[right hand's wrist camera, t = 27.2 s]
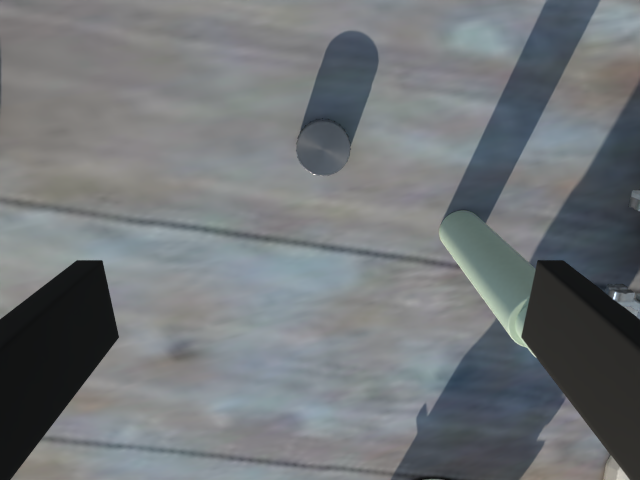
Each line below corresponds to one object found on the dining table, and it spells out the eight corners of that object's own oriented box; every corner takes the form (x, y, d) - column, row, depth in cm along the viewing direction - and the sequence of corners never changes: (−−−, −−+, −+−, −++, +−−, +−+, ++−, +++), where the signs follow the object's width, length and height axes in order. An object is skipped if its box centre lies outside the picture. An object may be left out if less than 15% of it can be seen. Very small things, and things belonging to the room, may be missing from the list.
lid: (295, 118, 40) (294, 121, 38) (349, 117, 40) (351, 119, 38) (298, 172, 42) (296, 177, 40) (349, 170, 42) (351, 175, 40)
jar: (484, 242, 45) (597, 358, 26) (443, 254, 45) (527, 376, 27) (477, 204, 43) (591, 300, 25) (434, 217, 44) (516, 320, 25)
